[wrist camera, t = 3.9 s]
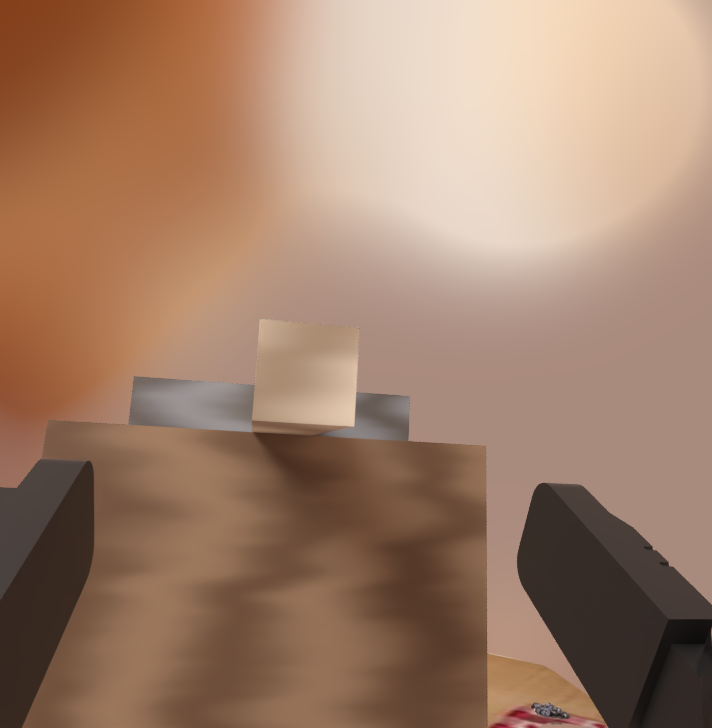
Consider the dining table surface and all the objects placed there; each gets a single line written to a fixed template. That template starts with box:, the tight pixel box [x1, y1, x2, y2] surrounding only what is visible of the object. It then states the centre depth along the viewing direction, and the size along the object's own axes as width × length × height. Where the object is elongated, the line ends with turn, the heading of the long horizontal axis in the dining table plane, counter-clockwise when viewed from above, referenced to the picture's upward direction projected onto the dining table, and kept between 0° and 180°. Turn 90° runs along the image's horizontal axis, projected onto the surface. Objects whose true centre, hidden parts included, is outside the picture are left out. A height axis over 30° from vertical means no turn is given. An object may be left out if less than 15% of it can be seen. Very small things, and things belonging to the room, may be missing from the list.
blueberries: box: [531, 702, 570, 724], centre depth 81 cm, size 7×8×2 cm
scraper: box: [129, 319, 410, 441], centre depth 26 cm, size 16×25×4 cm, turn 10°
